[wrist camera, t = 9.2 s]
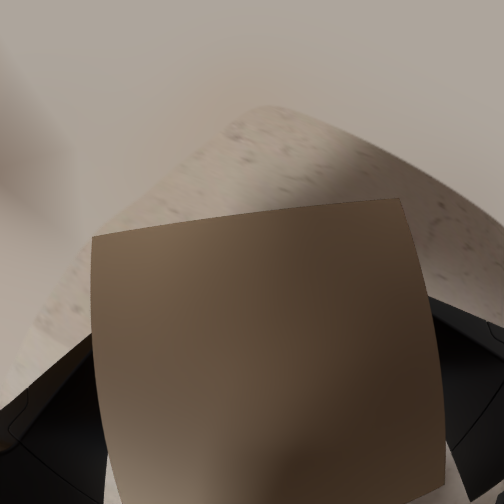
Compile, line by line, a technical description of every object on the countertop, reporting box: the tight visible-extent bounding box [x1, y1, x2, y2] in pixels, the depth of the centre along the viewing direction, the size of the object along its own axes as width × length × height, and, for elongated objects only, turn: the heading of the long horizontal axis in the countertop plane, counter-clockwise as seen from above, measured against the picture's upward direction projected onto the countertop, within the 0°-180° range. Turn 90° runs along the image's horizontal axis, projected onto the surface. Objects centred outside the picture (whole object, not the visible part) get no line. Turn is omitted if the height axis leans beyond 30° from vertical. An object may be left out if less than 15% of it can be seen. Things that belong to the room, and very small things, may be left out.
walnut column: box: [91, 198, 446, 504], centre depth 9 cm, size 4×4×13 cm
